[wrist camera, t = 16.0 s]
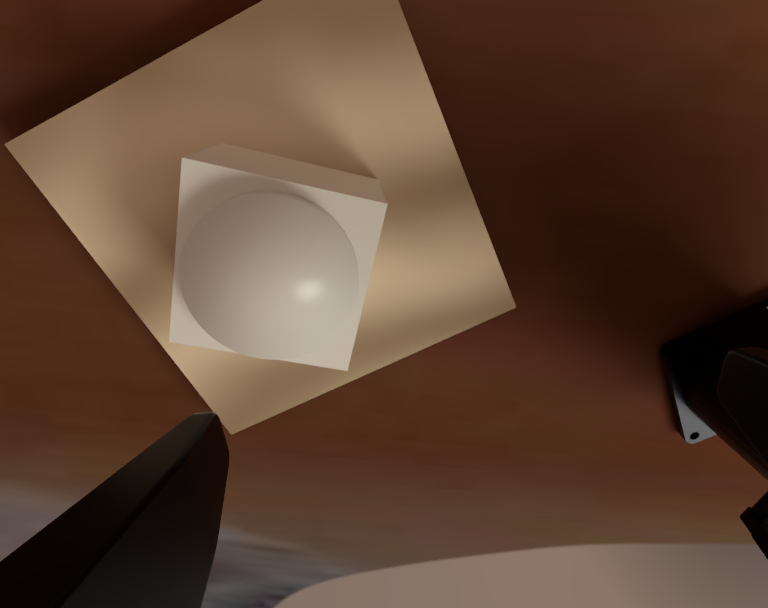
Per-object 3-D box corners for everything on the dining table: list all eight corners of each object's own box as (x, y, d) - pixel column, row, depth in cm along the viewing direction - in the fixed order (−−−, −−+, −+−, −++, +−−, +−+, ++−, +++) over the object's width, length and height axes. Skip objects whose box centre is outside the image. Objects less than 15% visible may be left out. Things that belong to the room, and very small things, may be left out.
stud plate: (508, 298, 21) (543, 340, 17) (236, 420, 22) (214, 483, 19) (372, -53, 15) (380, -100, 12) (23, 141, 17) (-68, 153, 13)
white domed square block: (222, 143, 16) (174, 160, 12) (377, 179, 17) (389, 208, 13) (208, 288, 18) (161, 351, 14) (346, 313, 19) (347, 381, 15)
